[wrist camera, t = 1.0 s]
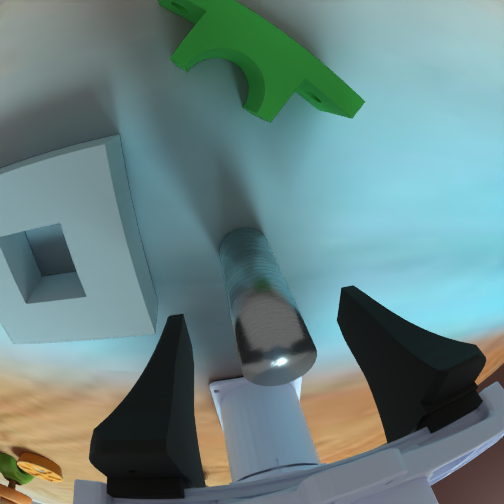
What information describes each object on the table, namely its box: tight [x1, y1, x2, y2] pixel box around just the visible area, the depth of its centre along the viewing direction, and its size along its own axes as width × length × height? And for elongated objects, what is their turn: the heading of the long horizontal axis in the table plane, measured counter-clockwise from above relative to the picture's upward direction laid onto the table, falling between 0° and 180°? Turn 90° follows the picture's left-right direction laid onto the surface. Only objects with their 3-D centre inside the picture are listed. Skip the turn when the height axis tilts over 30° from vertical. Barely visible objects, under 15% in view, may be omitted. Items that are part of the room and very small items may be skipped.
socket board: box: [0, 134, 158, 344], centre depth 15 cm, size 11×11×3 cm
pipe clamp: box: [158, 0, 365, 123], centre depth 12 cm, size 10×4×4 cm, turn 54°
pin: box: [219, 228, 317, 386], centre depth 16 cm, size 3×3×9 cm
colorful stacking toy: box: [0, 453, 63, 504], centre depth 24 cm, size 18×17×12 cm
